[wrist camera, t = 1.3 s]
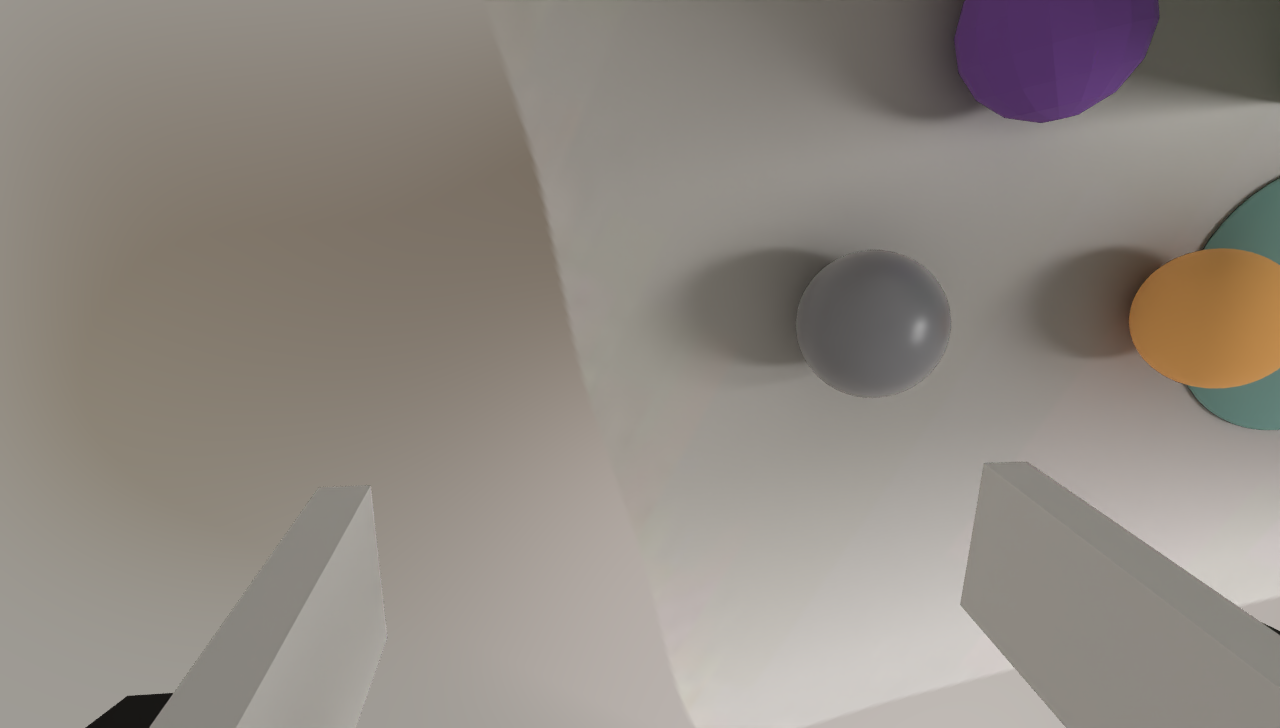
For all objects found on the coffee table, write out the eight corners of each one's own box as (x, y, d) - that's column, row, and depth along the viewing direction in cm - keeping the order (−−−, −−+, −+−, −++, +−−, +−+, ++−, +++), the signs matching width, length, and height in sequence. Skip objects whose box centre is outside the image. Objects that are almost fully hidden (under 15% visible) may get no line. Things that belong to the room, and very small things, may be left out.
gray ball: (930, 267, 29) (1010, 295, 24) (872, 388, 31) (936, 438, 25) (811, 221, 28) (868, 239, 23) (757, 348, 30) (799, 392, 24)
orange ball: (1242, 265, 31) (1381, 290, 25) (1174, 380, 32) (1293, 426, 27) (1140, 221, 30) (1264, 237, 24) (1074, 342, 31) (1178, 382, 26)
